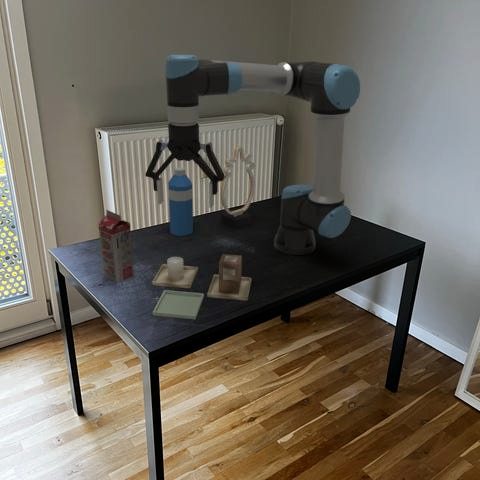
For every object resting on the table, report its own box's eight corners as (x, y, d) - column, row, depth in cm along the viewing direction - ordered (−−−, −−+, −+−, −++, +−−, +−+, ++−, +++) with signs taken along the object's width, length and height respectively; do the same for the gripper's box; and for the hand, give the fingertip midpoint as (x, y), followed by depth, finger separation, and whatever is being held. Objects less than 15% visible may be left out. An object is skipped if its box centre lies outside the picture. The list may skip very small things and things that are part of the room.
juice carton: (120, 270, 156) (115, 207, 147) (133, 276, 152) (129, 212, 143) (103, 277, 151) (97, 212, 142) (116, 284, 148) (110, 218, 138)
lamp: (244, 215, 203) (246, 141, 190) (258, 221, 197) (262, 145, 184) (213, 224, 193) (213, 147, 179) (227, 231, 187) (229, 151, 173)
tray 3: (251, 282, 151) (251, 277, 150) (247, 302, 140) (247, 297, 140) (214, 278, 152) (214, 274, 152) (207, 298, 142) (207, 293, 141)
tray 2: (203, 298, 142) (203, 293, 141) (195, 321, 131) (195, 316, 130) (164, 294, 143) (164, 290, 142) (152, 317, 132) (152, 312, 131)
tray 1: (198, 271, 157) (198, 267, 156) (190, 289, 146) (190, 285, 145) (162, 268, 158) (162, 264, 157) (152, 286, 147) (151, 282, 146)
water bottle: (189, 237, 181) (188, 173, 170) (166, 234, 183) (163, 171, 172) (196, 227, 189) (195, 166, 179) (173, 225, 191) (171, 164, 180)
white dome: (185, 274, 154) (184, 257, 151) (181, 281, 149) (181, 264, 146) (170, 272, 154) (169, 256, 152) (166, 280, 150) (165, 263, 147)
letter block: (241, 284, 148) (241, 255, 144) (238, 294, 143) (239, 264, 139) (221, 282, 149) (222, 253, 145) (218, 292, 144) (219, 262, 139)
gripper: (236, 121, 119) (234, 202, 128) (138, 117, 121) (144, 196, 130) (232, 128, 112) (230, 212, 121) (128, 123, 114) (135, 206, 123)
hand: (186, 204), depth 125 cm, fingers open, 13 cm apart
